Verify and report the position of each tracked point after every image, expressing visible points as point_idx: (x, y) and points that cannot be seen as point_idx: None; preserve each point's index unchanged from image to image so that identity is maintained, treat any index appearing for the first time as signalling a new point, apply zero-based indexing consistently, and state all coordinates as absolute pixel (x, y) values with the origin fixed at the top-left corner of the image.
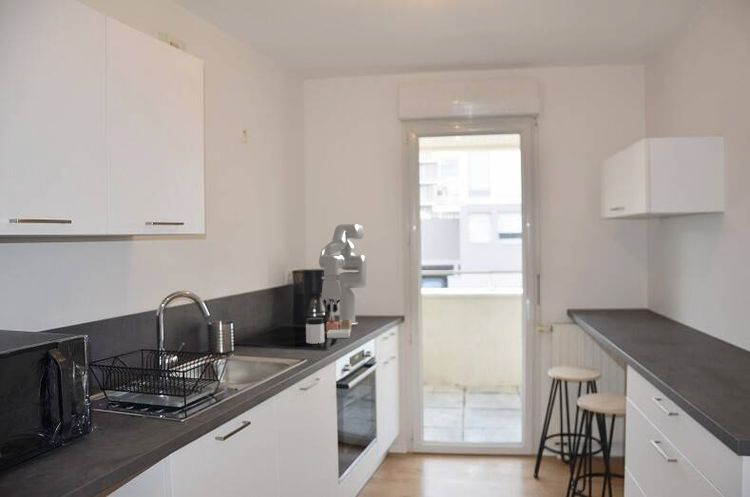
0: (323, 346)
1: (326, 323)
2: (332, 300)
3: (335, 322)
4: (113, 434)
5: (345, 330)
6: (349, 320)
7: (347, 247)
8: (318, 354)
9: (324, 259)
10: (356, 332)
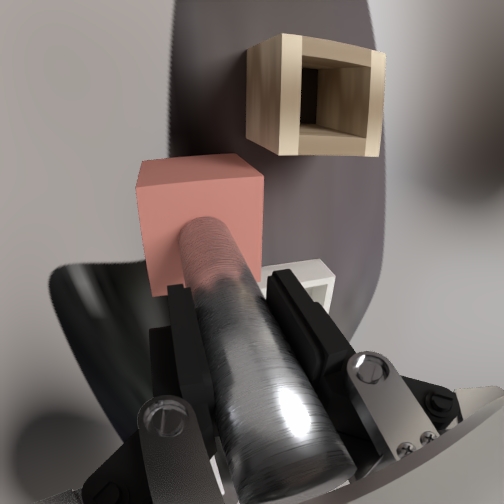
0: (221, 463)
1: (155, 294)
2: (311, 494)
3: (239, 241)
4: None
5: (304, 284)
6: (372, 99)
7: None
8: (228, 495)
9: None
10: (361, 162)
